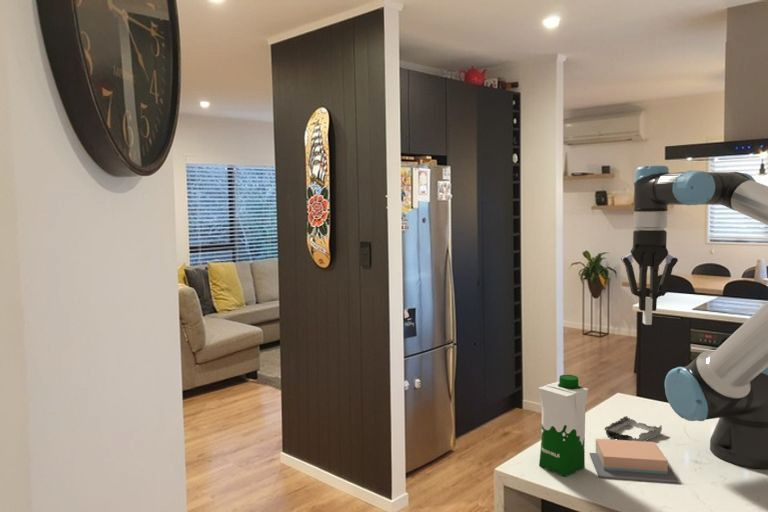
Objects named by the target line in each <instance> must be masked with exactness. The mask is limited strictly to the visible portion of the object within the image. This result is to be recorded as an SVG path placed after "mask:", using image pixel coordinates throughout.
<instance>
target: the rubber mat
mask: <svg viewBox="0 0 768 512" xmlns="http://www.w3.org/2000/svg"><path fill="white" fill-rule="evenodd" d="M589 456H590V458H591V462H592V464H593V466H594V468H595V471H596V474H597V477H598V478H599V479H611V480H612V479H613V480H623V481H624V480H626V481H639V482H650V483H651V482H652V483H665V484H680V481H679V479H678V477H677V476H676V474H675V472H673V470H672V468H671V467H670V466H669V465H668V471H667V474H657V473H642V472H628V471H614V470H603V467H602V465H601V463H600V460H599V458H598V456H597V453H596V452H589Z"/></svg>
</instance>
